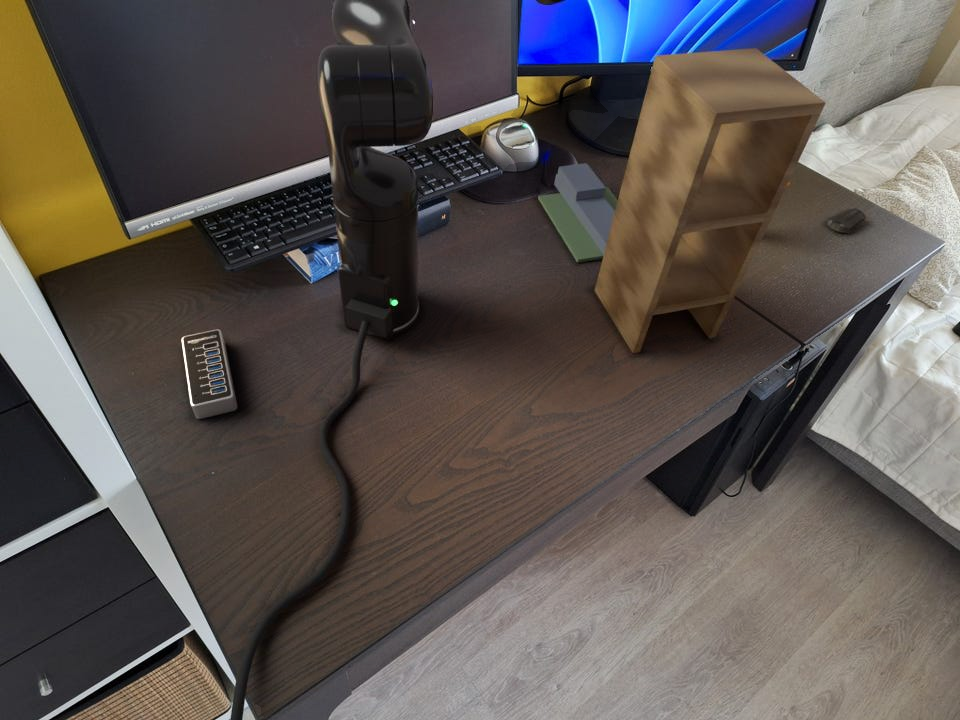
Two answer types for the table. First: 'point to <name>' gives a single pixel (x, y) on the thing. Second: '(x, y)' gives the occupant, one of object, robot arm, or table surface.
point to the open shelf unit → (701, 185)
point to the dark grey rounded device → (846, 220)
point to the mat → (574, 226)
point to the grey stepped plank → (586, 200)
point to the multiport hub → (208, 374)
